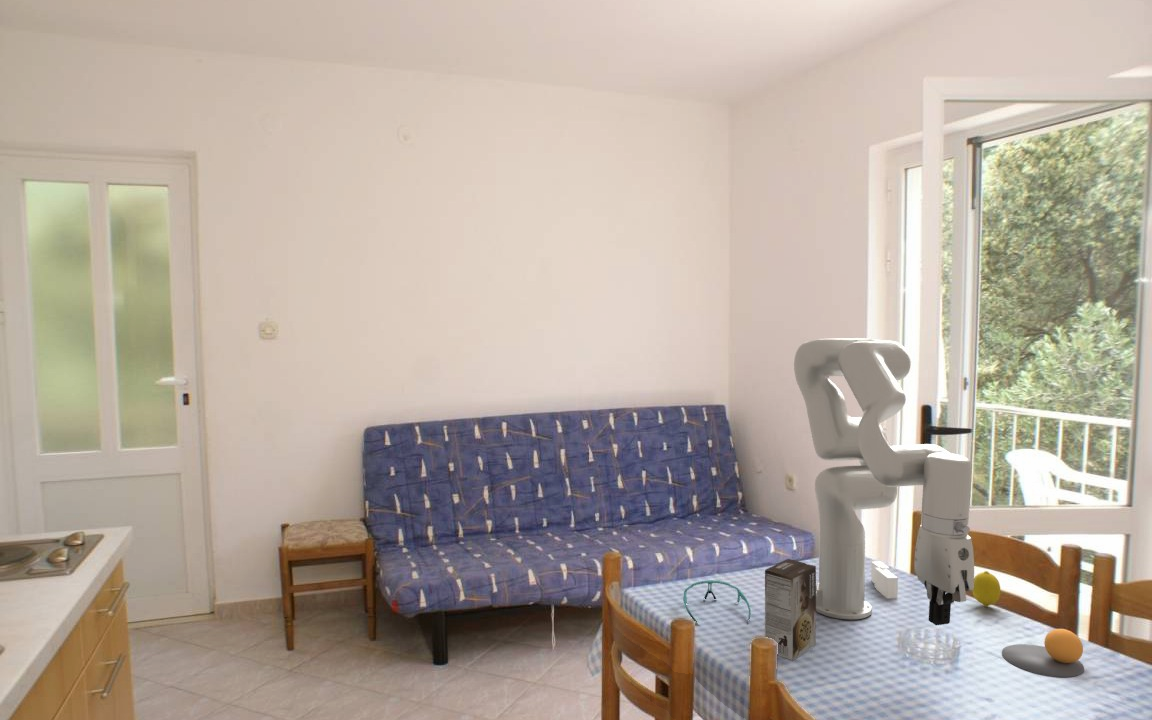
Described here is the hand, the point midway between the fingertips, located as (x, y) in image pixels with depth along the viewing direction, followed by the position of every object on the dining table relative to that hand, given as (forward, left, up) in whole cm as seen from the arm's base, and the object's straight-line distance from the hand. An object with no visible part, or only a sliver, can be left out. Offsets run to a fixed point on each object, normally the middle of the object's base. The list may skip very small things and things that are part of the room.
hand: (939, 622), depth 134 cm
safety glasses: (-43, +15, -10) cm, 46 cm away
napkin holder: (-7, +42, -10) cm, 44 cm away
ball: (+22, +12, -6) cm, 26 cm away
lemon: (+13, +37, -10) cm, 41 cm away
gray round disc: (+19, +12, -9) cm, 24 cm away
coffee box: (-26, +1, -10) cm, 28 cm away
